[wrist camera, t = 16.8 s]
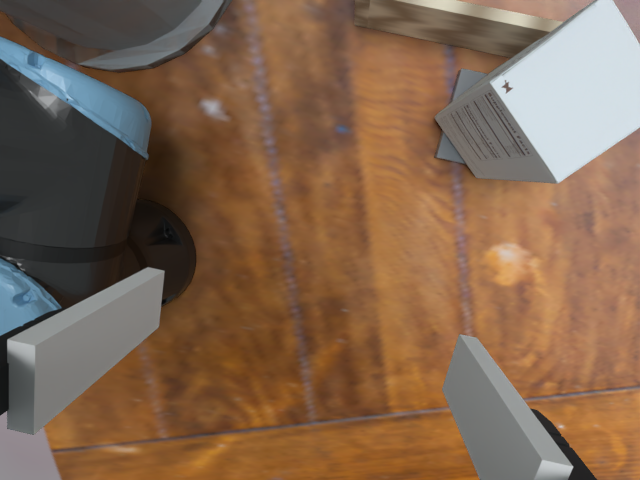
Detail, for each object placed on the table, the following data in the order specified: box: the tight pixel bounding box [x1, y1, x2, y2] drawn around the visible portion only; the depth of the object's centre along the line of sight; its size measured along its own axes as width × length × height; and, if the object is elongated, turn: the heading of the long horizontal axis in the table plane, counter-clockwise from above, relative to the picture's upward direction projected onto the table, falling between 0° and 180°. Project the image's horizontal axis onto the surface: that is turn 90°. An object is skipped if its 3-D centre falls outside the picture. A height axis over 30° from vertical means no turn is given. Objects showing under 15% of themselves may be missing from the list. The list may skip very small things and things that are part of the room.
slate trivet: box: [434, 69, 488, 165], centre depth 41 cm, size 10×10×1 cm
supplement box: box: [435, 0, 640, 183], centre depth 33 cm, size 10×9×17 cm
